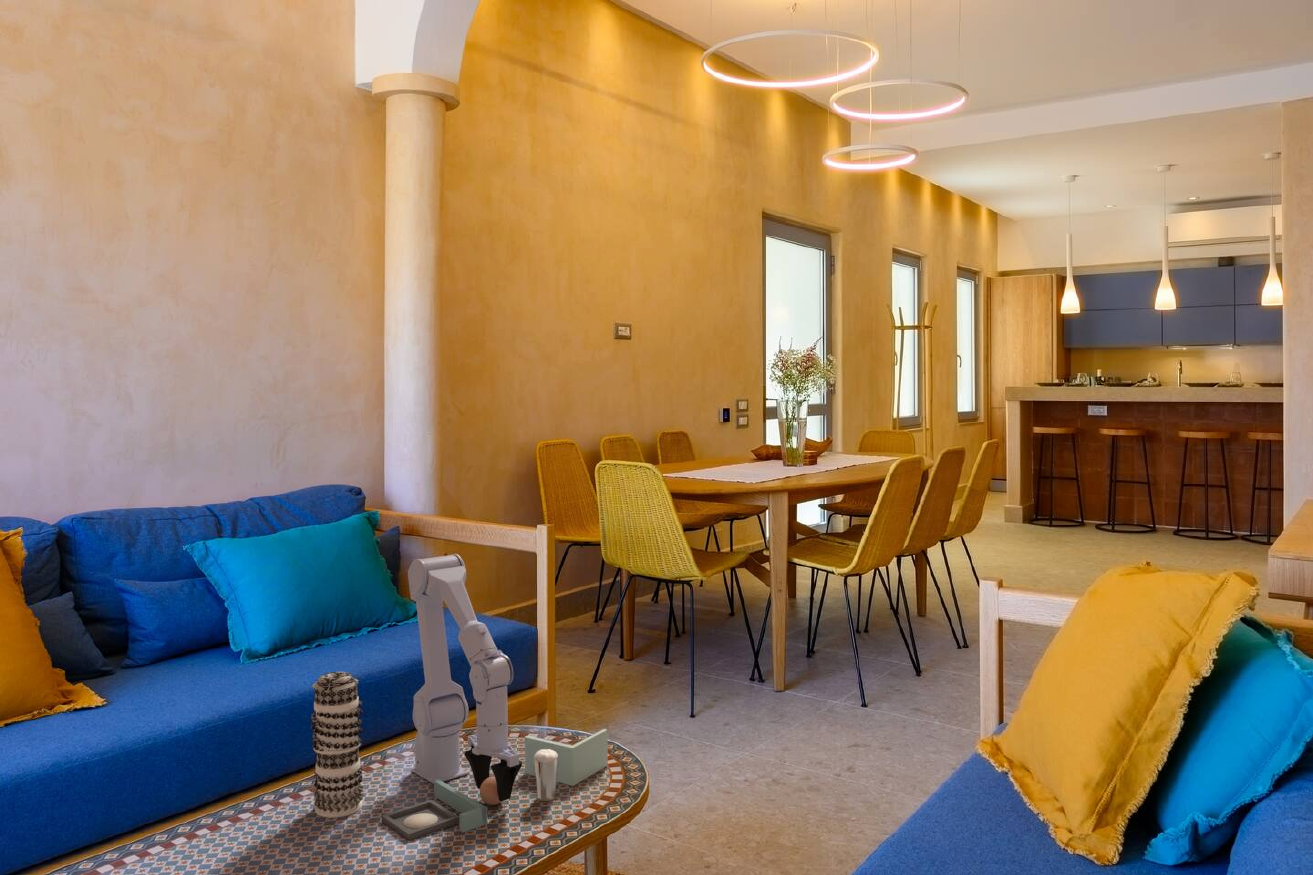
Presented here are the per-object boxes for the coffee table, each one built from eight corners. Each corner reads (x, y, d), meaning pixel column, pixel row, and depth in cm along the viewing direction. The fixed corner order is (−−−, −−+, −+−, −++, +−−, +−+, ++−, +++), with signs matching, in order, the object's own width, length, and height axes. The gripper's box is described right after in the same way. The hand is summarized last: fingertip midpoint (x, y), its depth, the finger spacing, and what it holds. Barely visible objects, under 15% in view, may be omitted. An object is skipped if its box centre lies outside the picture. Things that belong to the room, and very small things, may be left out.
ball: (474, 803, 185) (474, 777, 185) (497, 795, 189) (497, 769, 189) (489, 811, 182) (488, 785, 181) (512, 803, 185) (511, 777, 185)
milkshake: (558, 804, 185) (557, 751, 184) (531, 801, 186) (530, 749, 185) (565, 794, 189) (565, 742, 189) (538, 791, 190) (538, 741, 190)
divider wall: (415, 802, 186) (414, 786, 186) (438, 794, 189) (438, 779, 189) (462, 832, 173) (462, 815, 173) (487, 823, 177) (486, 807, 177)
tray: (381, 821, 178) (381, 815, 178) (431, 805, 184) (431, 799, 184) (408, 840, 170) (408, 834, 170) (459, 823, 177) (459, 816, 177)
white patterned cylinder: (374, 806, 184) (371, 674, 183) (329, 823, 177) (325, 686, 176) (348, 792, 190) (345, 664, 189) (303, 808, 184) (300, 675, 182)
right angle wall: (607, 765, 204) (607, 729, 203) (573, 785, 193) (572, 748, 193) (561, 754, 210) (560, 719, 209) (524, 773, 200) (524, 736, 199)
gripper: (453, 717, 187) (454, 787, 188) (495, 737, 176) (496, 811, 177) (485, 708, 192) (486, 777, 193) (528, 727, 181) (529, 800, 182)
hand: (493, 793), depth 185 cm, fingers open, 7 cm apart
